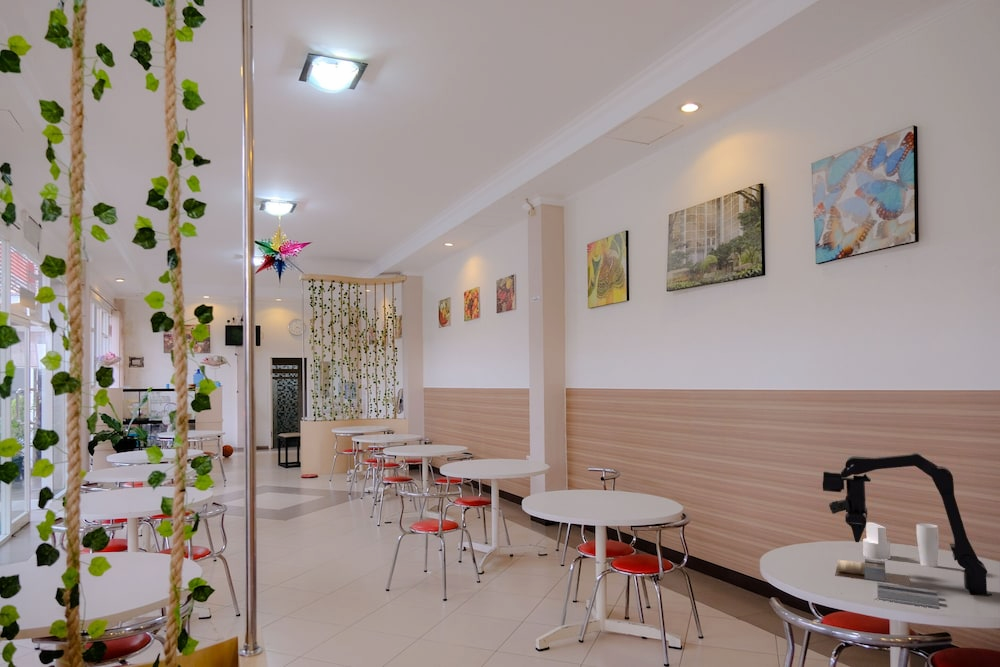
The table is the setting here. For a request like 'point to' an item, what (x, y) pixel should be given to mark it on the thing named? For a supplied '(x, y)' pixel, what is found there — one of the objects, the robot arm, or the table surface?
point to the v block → (908, 595)
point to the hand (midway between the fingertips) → (857, 539)
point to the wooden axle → (853, 567)
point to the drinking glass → (928, 544)
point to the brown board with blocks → (877, 574)
